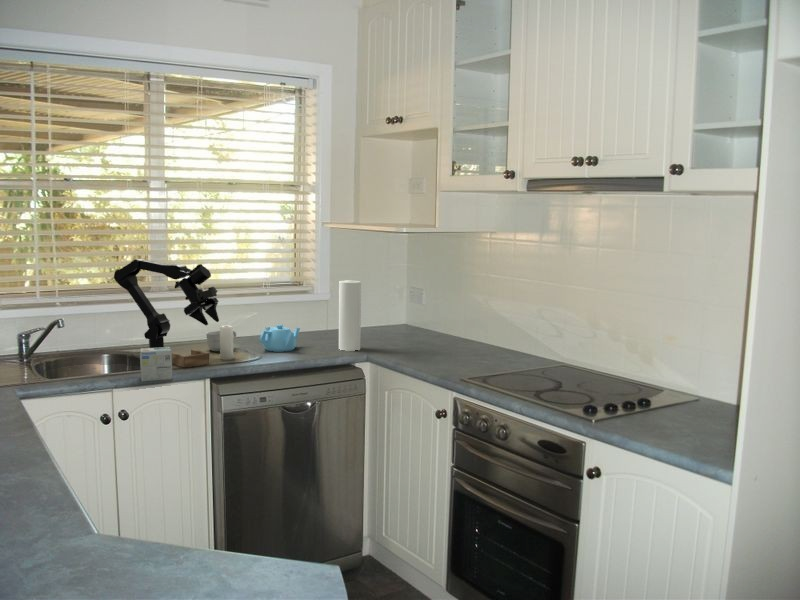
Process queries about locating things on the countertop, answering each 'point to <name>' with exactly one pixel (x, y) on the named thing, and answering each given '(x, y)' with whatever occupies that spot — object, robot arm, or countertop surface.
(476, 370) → the countertop surface
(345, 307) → the cylinder container
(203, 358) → the cradle
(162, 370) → the light bulb box
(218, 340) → the teacup
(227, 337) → the paper roll
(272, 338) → the teapot
